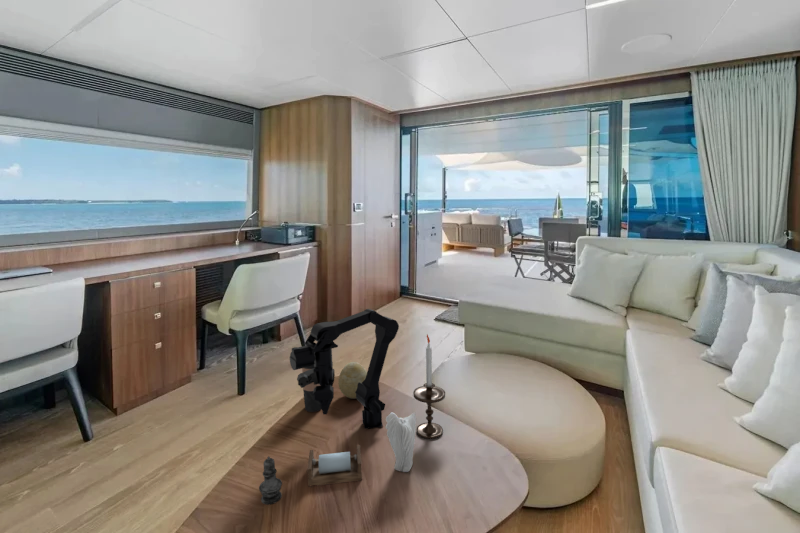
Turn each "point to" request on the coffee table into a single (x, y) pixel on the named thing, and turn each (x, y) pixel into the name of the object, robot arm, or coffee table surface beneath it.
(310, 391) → the travel mug
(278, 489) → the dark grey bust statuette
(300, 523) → the coffee table surface
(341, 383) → the fossilized egg
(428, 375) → the candlestick
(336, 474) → the holder
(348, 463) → the roll
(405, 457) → the white angel figurine
